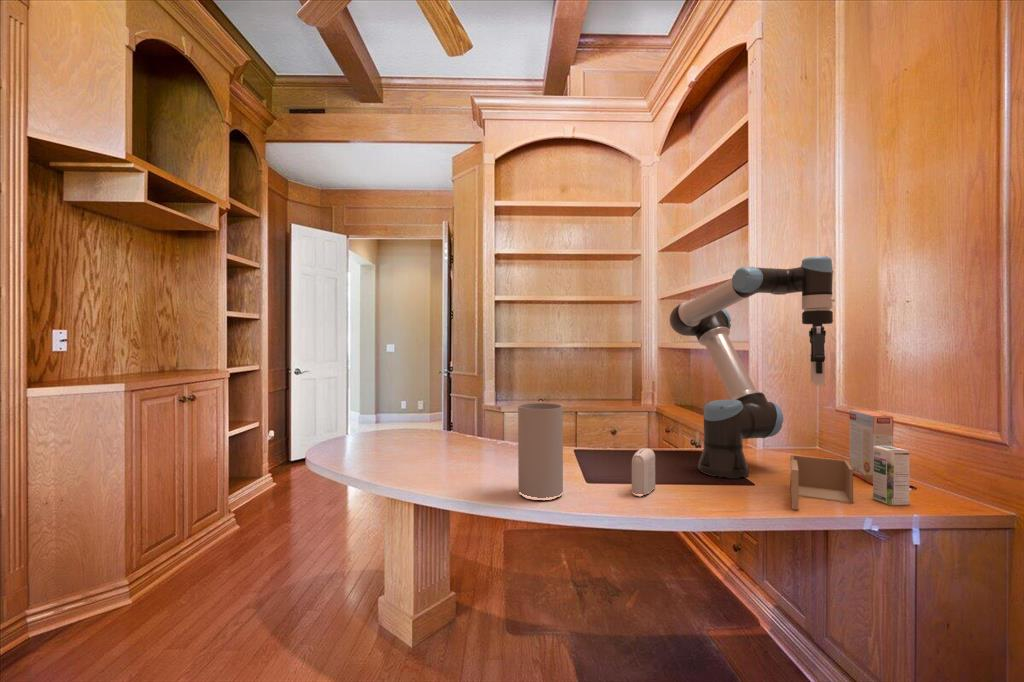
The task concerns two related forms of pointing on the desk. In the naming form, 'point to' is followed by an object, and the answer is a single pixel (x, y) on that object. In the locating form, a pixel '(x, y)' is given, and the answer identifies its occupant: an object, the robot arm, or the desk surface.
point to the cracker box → (868, 439)
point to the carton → (825, 478)
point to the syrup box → (891, 475)
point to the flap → (794, 485)
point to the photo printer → (643, 471)
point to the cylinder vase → (540, 449)
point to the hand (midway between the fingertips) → (817, 383)
